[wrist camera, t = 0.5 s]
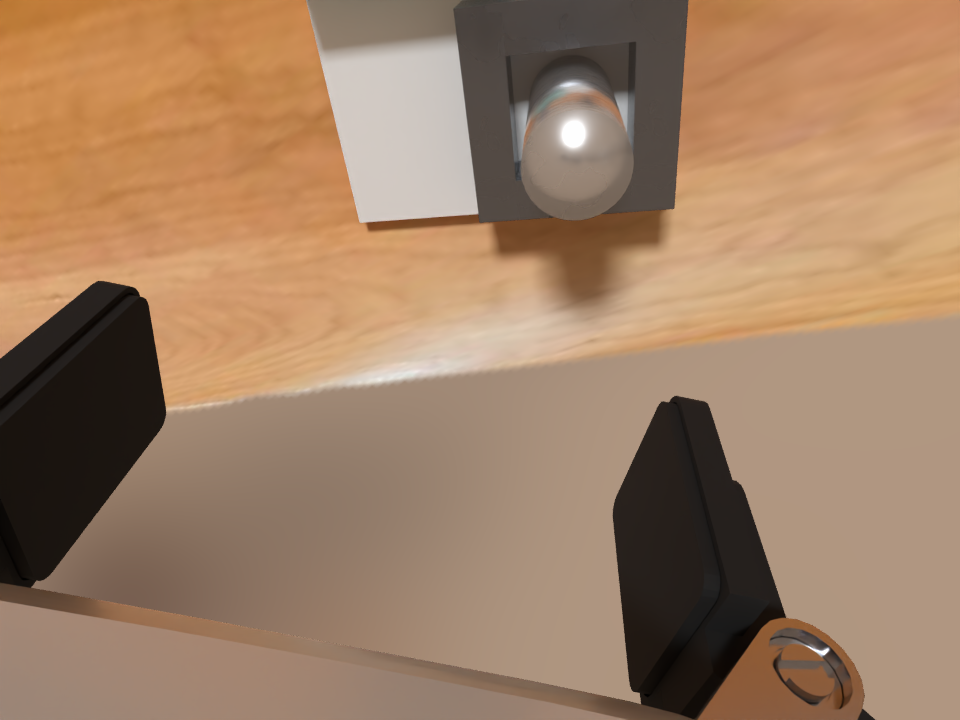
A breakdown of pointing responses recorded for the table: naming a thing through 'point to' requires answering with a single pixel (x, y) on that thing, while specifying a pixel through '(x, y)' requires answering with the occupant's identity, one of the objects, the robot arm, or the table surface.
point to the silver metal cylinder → (575, 141)
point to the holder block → (558, 26)
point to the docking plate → (417, 102)
